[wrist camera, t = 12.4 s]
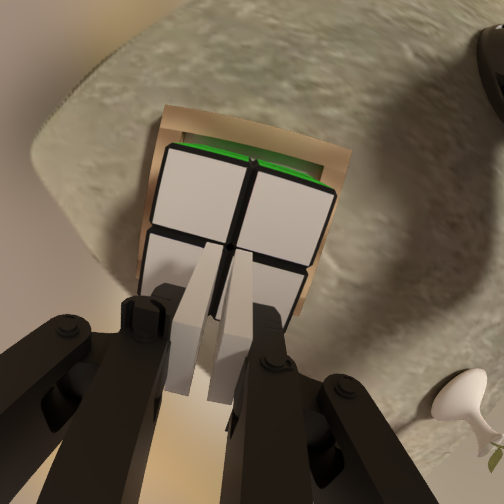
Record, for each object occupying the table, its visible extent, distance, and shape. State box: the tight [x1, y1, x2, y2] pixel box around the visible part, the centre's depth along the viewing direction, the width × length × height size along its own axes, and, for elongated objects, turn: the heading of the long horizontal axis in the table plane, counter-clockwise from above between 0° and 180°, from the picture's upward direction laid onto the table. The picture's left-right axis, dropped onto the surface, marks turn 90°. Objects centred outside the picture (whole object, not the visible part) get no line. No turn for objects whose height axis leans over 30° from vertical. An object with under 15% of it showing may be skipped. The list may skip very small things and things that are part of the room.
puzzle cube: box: [137, 142, 338, 333], centre depth 22 cm, size 10×10×10 cm
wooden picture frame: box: [136, 105, 352, 316], centre depth 26 cm, size 16×16×2 cm
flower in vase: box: [431, 368, 504, 473], centre depth 25 cm, size 13×11×25 cm
